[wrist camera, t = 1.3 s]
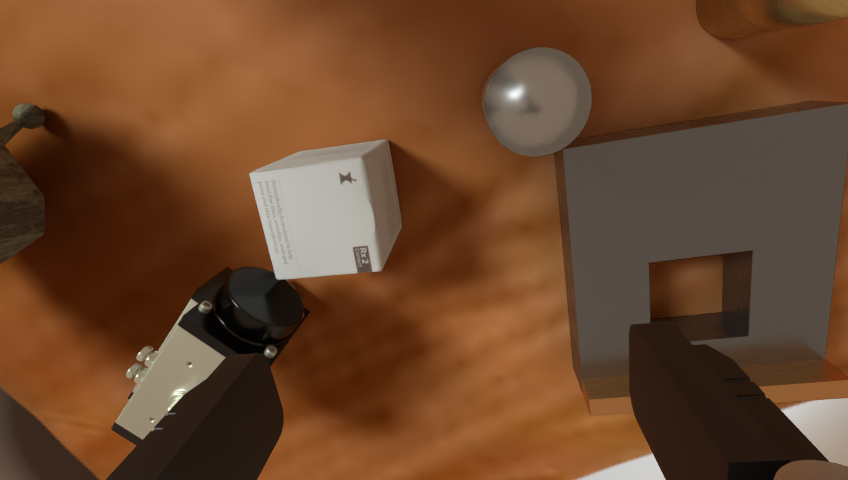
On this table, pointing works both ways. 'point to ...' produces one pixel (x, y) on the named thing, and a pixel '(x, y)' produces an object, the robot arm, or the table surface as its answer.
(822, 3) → the brass bushing
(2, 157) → the olive green lantern
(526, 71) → the translucent grey cylinder
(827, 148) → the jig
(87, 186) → the table surface
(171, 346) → the pneumatic valve
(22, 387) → the table surface
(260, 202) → the skincare box
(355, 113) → the table surface
